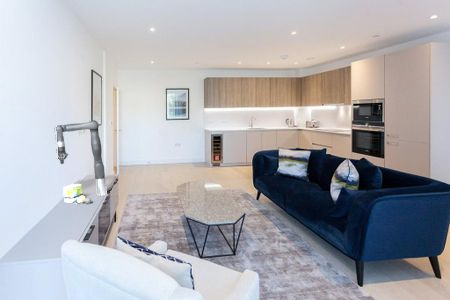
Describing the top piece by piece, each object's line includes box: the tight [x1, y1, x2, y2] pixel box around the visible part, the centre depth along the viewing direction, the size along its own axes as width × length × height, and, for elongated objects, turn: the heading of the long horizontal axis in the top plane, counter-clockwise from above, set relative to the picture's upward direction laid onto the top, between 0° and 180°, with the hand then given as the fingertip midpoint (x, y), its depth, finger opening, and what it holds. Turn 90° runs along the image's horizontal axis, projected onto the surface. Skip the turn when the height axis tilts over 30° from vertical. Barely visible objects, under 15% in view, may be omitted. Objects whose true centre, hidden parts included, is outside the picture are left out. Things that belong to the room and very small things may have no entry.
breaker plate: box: [71, 199, 93, 206], centre depth 333 cm, size 14×11×2 cm
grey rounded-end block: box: [84, 197, 92, 205], centre depth 328 cm, size 5×5×5 cm
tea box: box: [63, 183, 84, 203], centre depth 343 cm, size 15×10×15 cm
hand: (62, 163), depth 346 cm, fingers closed
